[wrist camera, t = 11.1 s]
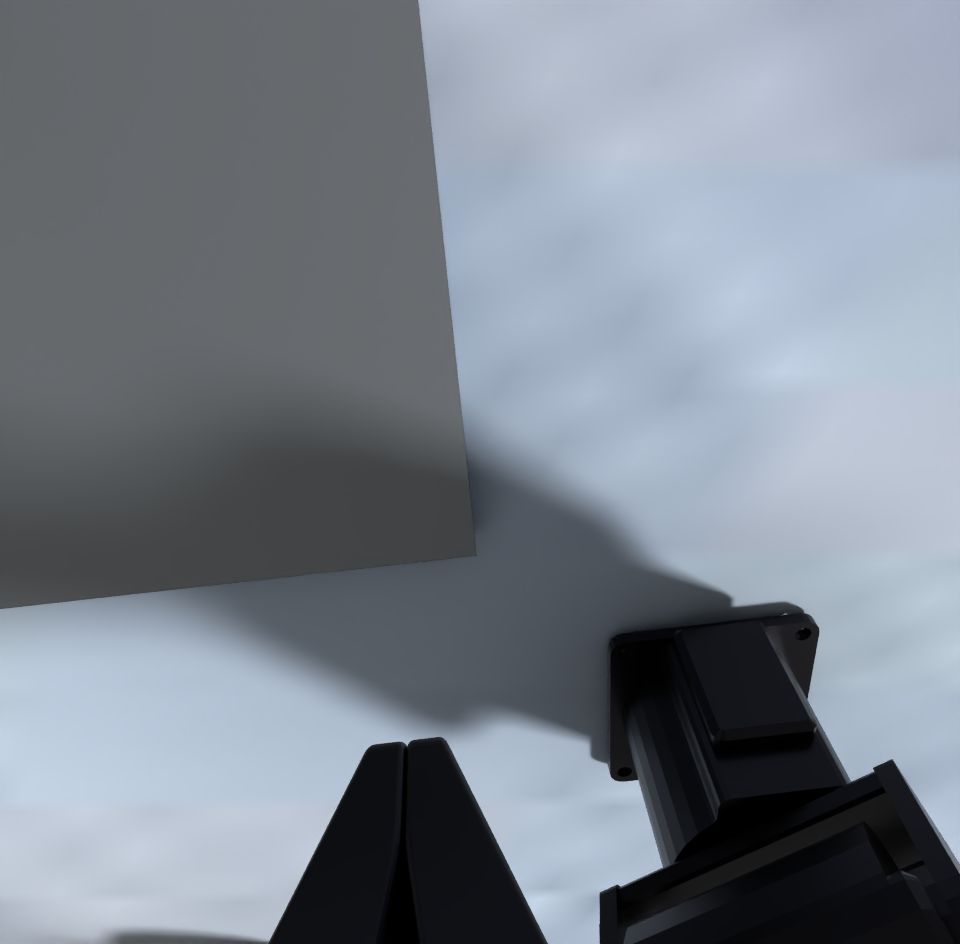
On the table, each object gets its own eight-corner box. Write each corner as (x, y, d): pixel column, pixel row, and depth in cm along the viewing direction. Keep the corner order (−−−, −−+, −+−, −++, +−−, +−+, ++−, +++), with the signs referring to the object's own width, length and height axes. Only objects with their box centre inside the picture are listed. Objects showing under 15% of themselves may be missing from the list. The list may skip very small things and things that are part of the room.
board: (474, 533, 24) (476, 555, 23) (-173, 605, 23) (-194, 630, 22) (382, -329, 14) (381, -347, 13) (-716, -231, 14) (-790, -243, 13)
